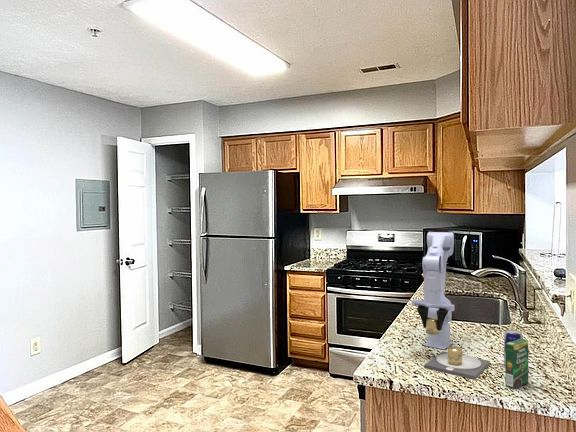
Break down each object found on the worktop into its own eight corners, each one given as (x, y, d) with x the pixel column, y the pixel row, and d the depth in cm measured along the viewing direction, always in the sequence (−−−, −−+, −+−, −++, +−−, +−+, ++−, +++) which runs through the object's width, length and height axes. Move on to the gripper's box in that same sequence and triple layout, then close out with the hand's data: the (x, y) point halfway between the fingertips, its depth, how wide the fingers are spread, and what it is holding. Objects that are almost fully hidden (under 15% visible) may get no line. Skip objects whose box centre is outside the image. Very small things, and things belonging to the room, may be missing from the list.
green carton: (513, 389, 129) (514, 345, 129) (504, 386, 132) (504, 342, 132) (529, 383, 134) (529, 340, 133) (519, 380, 136) (520, 337, 136)
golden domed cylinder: (450, 360, 150) (450, 345, 150) (464, 363, 147) (464, 348, 147) (445, 363, 146) (445, 348, 146) (459, 367, 143) (459, 351, 143)
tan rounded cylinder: (428, 330, 159) (428, 316, 159) (441, 332, 156) (441, 318, 156) (423, 333, 155) (423, 318, 155) (436, 335, 153) (436, 320, 152)
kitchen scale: (442, 353, 160) (442, 349, 160) (489, 363, 150) (490, 359, 150) (424, 367, 147) (424, 363, 147) (474, 379, 137) (474, 374, 137)
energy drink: (512, 372, 143) (512, 334, 143) (500, 366, 148) (500, 330, 148) (526, 370, 144) (526, 333, 144) (513, 364, 150) (513, 328, 149)
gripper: (408, 289, 157) (408, 327, 157) (449, 294, 148) (449, 335, 148) (416, 286, 162) (416, 323, 163) (456, 290, 153) (456, 330, 154)
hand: (432, 328), depth 156 cm, fingers closed on tan rounded cylinder, 4 cm apart
